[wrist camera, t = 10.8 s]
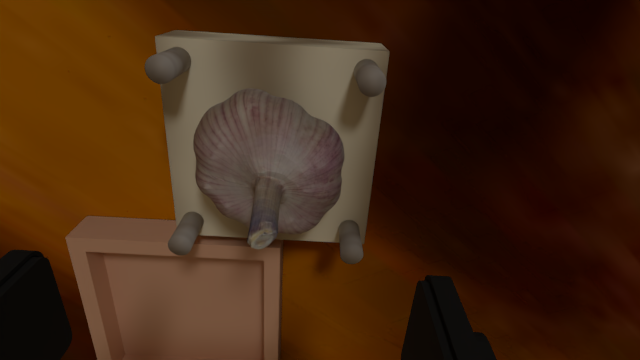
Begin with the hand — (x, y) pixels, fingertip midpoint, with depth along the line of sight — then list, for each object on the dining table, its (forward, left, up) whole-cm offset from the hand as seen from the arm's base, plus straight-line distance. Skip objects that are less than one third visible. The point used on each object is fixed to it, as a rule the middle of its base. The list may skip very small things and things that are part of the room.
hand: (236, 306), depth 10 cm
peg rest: (0, +1, -15) cm, 15 cm away
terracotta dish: (+6, +14, -15) cm, 21 cm away
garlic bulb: (0, 0, -12) cm, 12 cm away
